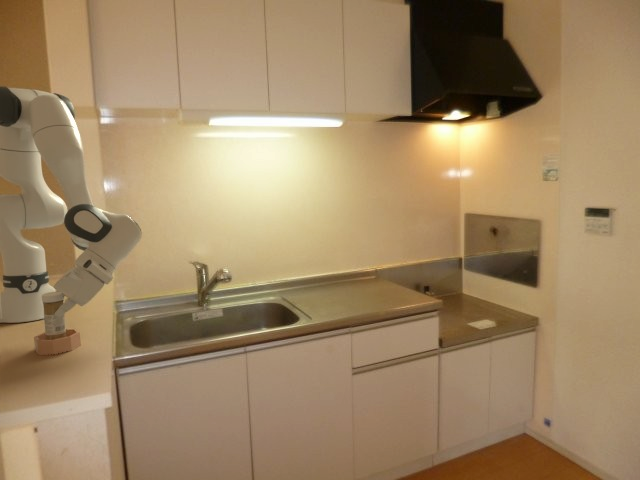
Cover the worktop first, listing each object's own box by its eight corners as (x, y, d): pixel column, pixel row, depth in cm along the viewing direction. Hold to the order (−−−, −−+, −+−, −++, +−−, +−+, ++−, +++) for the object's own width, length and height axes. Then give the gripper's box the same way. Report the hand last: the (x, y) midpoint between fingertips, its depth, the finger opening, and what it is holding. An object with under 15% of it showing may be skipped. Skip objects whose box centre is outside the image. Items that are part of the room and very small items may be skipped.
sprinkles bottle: (64, 341, 110) (60, 290, 109) (69, 345, 107) (65, 292, 106) (43, 345, 107) (39, 293, 106) (48, 350, 104) (44, 295, 103)
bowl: (33, 348, 108) (32, 334, 107) (74, 339, 114) (73, 326, 113) (40, 357, 101) (39, 343, 100) (83, 347, 107) (82, 334, 107)
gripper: (72, 256, 117) (33, 297, 112) (94, 264, 102) (50, 312, 97) (91, 270, 121) (54, 311, 115) (115, 280, 106) (73, 327, 100)
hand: (52, 311), depth 106 cm, fingers open, 8 cm apart
